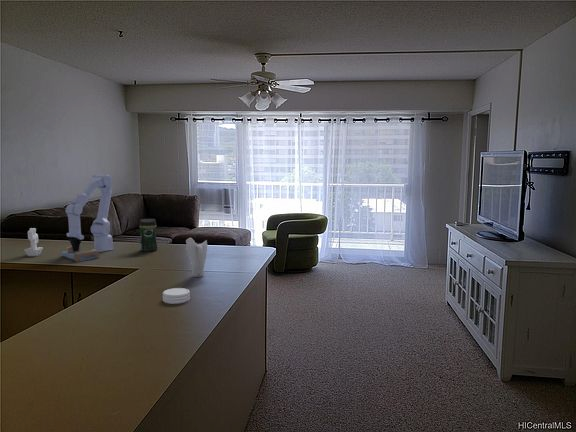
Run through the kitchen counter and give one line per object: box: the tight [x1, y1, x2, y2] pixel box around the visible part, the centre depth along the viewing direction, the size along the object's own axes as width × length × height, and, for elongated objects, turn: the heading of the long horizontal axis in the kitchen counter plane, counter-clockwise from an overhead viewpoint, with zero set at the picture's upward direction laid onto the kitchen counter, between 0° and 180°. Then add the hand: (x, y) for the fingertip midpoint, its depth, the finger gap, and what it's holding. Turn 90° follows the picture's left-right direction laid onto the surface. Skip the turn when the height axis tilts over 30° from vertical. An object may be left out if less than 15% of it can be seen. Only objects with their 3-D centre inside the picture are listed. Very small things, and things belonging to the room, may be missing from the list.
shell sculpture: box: [185, 237, 208, 278], centre depth 200 cm, size 8×8×18 cm
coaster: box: [162, 287, 191, 305], centre depth 166 cm, size 10×10×4 cm
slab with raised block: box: [61, 245, 84, 258], centre depth 240 cm, size 9×5×5 cm, turn 143°
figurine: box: [23, 227, 44, 257], centre depth 239 cm, size 7×9×15 cm
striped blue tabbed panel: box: [66, 249, 100, 263], centre depth 234 cm, size 12×14×4 cm
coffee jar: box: [138, 218, 158, 252], centre depth 255 cm, size 10×8×19 cm
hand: (76, 251), depth 238 cm, fingers closed
